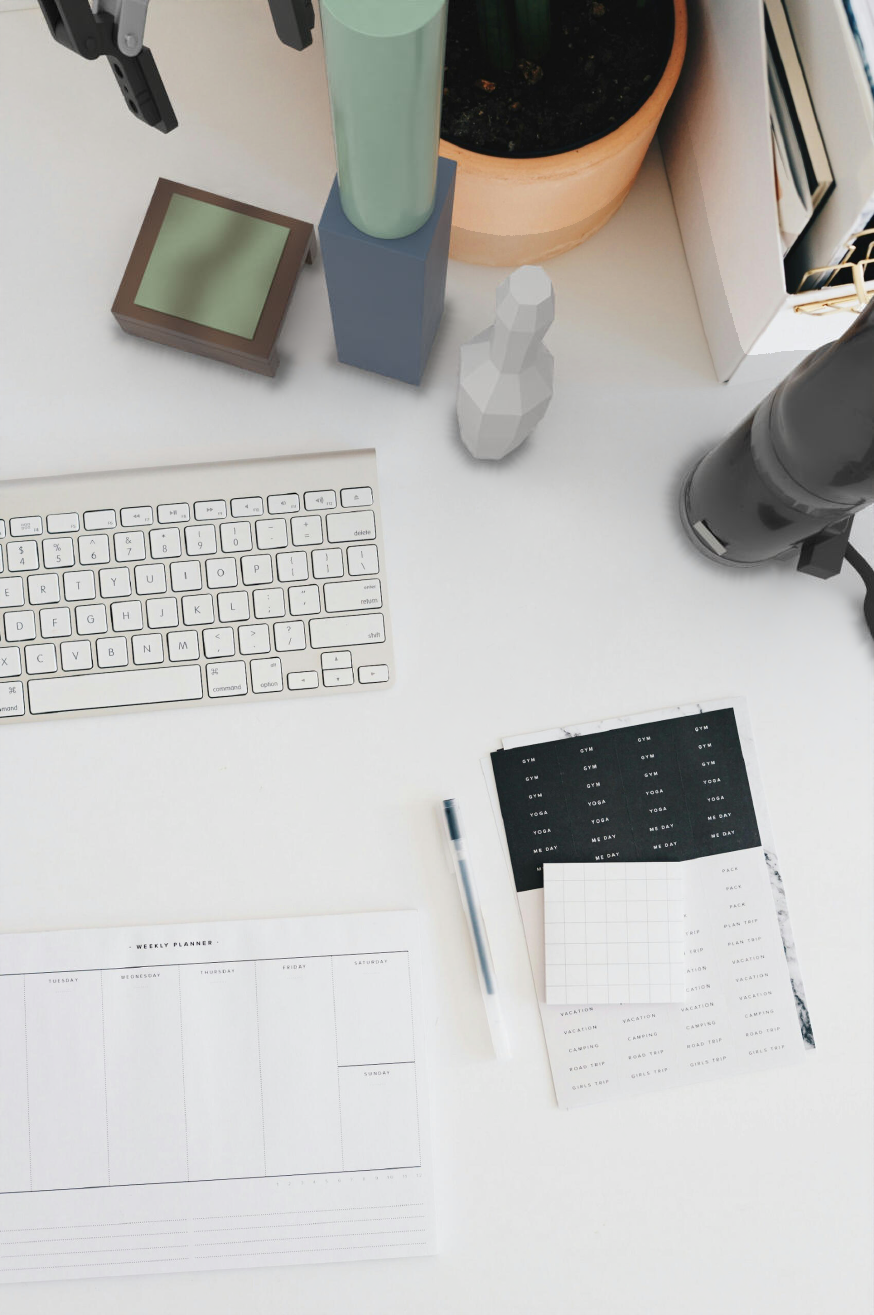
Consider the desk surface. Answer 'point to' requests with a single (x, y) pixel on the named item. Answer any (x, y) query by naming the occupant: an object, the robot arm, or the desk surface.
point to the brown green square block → (213, 276)
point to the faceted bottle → (508, 368)
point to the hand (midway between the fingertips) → (231, 83)
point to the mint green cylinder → (385, 108)
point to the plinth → (387, 285)
